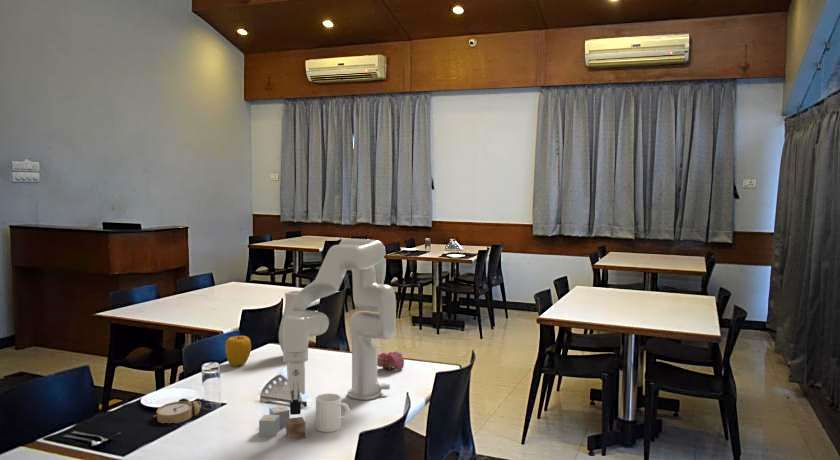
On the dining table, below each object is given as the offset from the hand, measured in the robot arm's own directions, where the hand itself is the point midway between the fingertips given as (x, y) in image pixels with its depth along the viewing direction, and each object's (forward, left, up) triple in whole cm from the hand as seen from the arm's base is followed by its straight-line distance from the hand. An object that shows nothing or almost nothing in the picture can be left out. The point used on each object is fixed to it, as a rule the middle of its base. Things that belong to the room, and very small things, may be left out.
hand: (295, 413), depth 188 cm
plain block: (0, 0, -7) cm, 7 cm away
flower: (-41, -64, -8) cm, 76 cm away
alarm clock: (+38, -24, -8) cm, 46 cm away
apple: (+23, -82, -8) cm, 86 cm away
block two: (+5, -11, -7) cm, 14 cm away
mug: (-12, -4, -8) cm, 15 cm away
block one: (+8, -4, -7) cm, 12 cm away
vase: (-1, -90, -8) cm, 90 cm away
